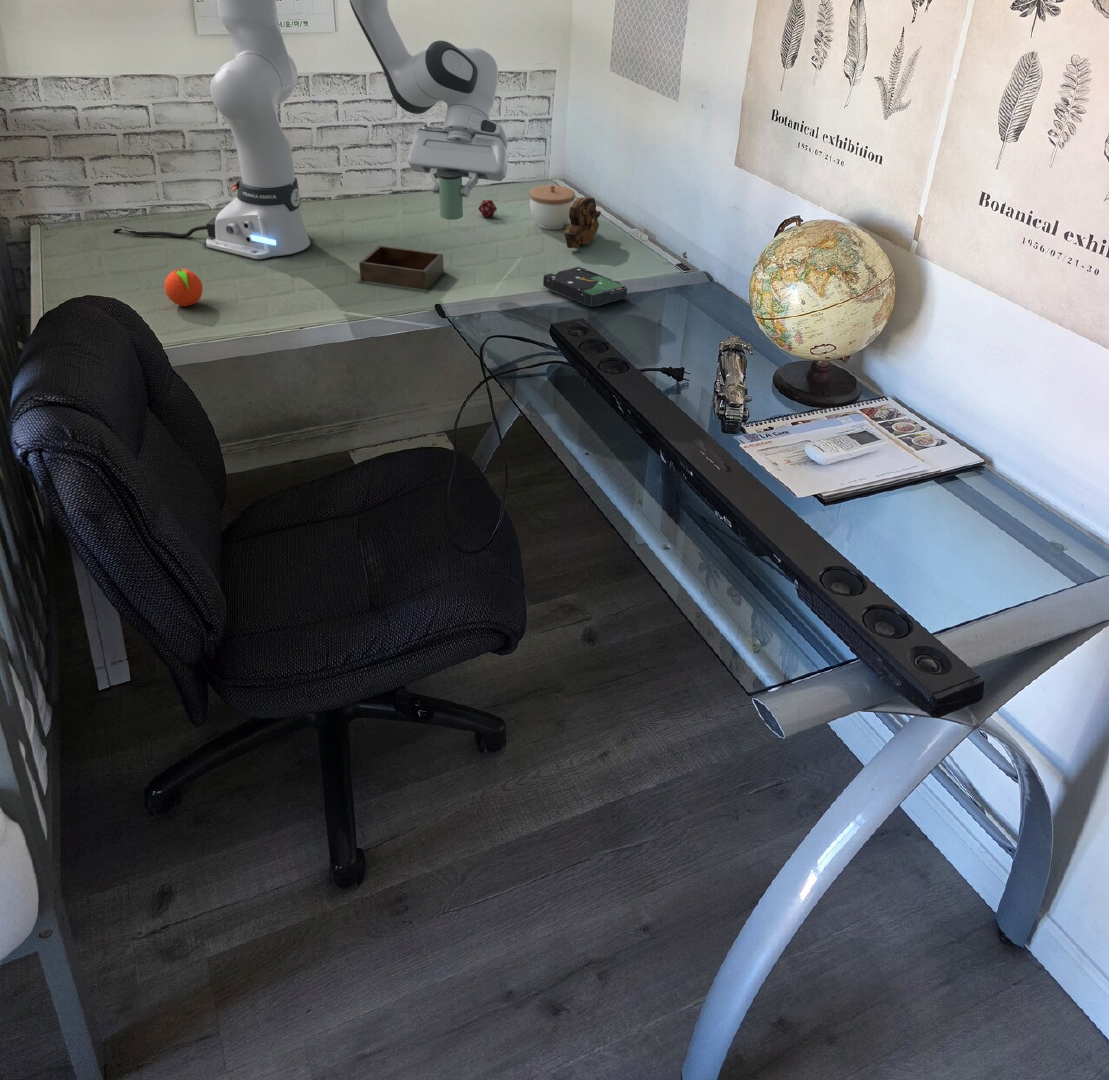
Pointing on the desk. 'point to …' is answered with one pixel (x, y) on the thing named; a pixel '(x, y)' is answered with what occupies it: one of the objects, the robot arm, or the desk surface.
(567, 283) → the disk drive
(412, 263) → the walnut box
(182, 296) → the clementine
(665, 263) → the desk surface
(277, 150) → the robot arm
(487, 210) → the dice
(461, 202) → the cylinder
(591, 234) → the wooden carving
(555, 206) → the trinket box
